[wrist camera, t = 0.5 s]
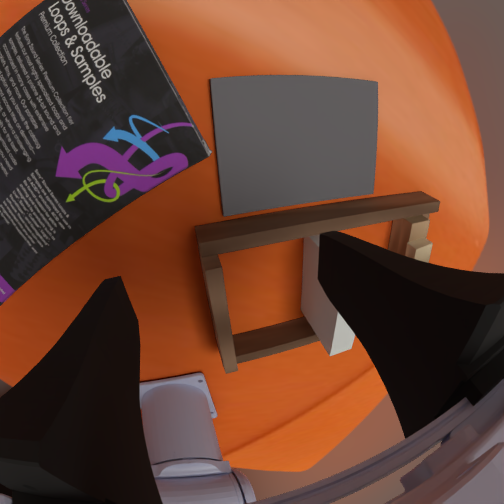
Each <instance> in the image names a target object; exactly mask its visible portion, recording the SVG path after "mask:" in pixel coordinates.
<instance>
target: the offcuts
mask: <svg viewBox="0 0 504 504" xmlns="http://www.w3.org/2000/svg"><path fill="white" fill-rule="evenodd" d="M429 223H430V220H429V219H428V218H426V217H424V216H423V215H417V216H412V217H407V218H402V219H397V220H393V224H392V230H391V236H390V241H389V247H388V250H390V251H392V252H395V253H398V254H401V255H404V256H407V257H410V258H413V259H416V260H420V261H423V262H427V263H429V258H430V254H431V249H432V244H433V243H432V242H430V241H429V240H428V239H426V236H427V232H428V227H429Z"/></svg>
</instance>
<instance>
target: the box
mask: <svg viewBox="0 0 504 504" xmlns="http://www.w3.org/2000/svg"><path fill="white" fill-rule="evenodd" d="M211 153H212V151H211V150H210V149H209V147H208V145H207V143H206V141H205V140H204V139H203V137H202V135H201V134H200V132H199V130H198V128H197V126H196V125H195V123H194V121H193V119H192V117H191V116H190V114H189V112H188V110H187V108H186V106H185V104H184V103H183V101H182V99H181V97H180V95H179V93H178V92H177V90H176V88H175V86H174V84H173V82H172V81H171V79H170V77H169V75H168V74H167V72H166V70H165V68H164V66H163V65H162V63H161V61H160V59H159V57H158V56H157V54H156V52H155V50H154V48H153V47H152V45H151V43H150V41H149V39H148V38H147V36H146V34H145V32H144V30H143V29H142V27H141V25H140V23H139V22H138V20H137V18H136V16H135V14H134V13H133V11H132V9H131V7H130V6H129V4H128V2H127V0H44V1H43V2H41V3H40V4H39V5H37V6H36V7H35V8H33V9H32V10H31V11H30V12H28V13H27V14H26V15H25V16H24V17H22V18H21V19H20V20H19V21H18V22H16V23H15V24H14V25H13V26H12V27H11V28H10V29H9V30H7V31H6V32H5V33H4V34H3V35H2V36H1V37H0V306H1V305H2V304H3V303H4V302H5V301H6V300H7V299H8V298H9V297H10V296H11V295H12V294H13V293H14V292H15V291H16V290H17V289H18V288H19V287H20V286H22V285H23V284H24V283H25V282H26V281H27V280H28V279H30V278H31V277H32V276H33V275H34V274H35V273H37V272H38V271H39V270H40V269H41V268H43V267H44V266H45V265H46V264H47V263H49V262H50V261H51V260H52V259H54V258H55V257H56V256H57V255H59V254H60V253H61V252H62V251H64V250H65V249H66V248H68V247H69V246H70V245H71V244H73V243H74V242H75V241H77V240H78V239H80V238H81V237H82V236H84V235H85V234H86V233H88V232H89V231H90V230H92V229H93V228H95V227H96V226H97V225H99V224H100V223H102V222H103V221H104V220H106V219H107V218H109V217H110V216H112V215H113V214H115V213H116V212H118V211H119V210H120V209H122V208H123V207H125V206H126V205H128V204H129V203H131V202H132V201H134V200H136V199H137V198H139V197H140V196H142V195H143V194H145V193H146V192H148V191H150V190H151V189H153V188H155V187H156V186H158V185H159V184H161V183H163V182H164V181H166V180H168V179H169V178H171V177H173V176H174V175H176V174H178V173H180V172H181V171H183V170H185V169H187V168H189V167H191V166H192V165H194V164H196V163H198V162H200V161H202V160H204V159H205V158H207V157H209V156H210V154H211Z"/></svg>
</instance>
